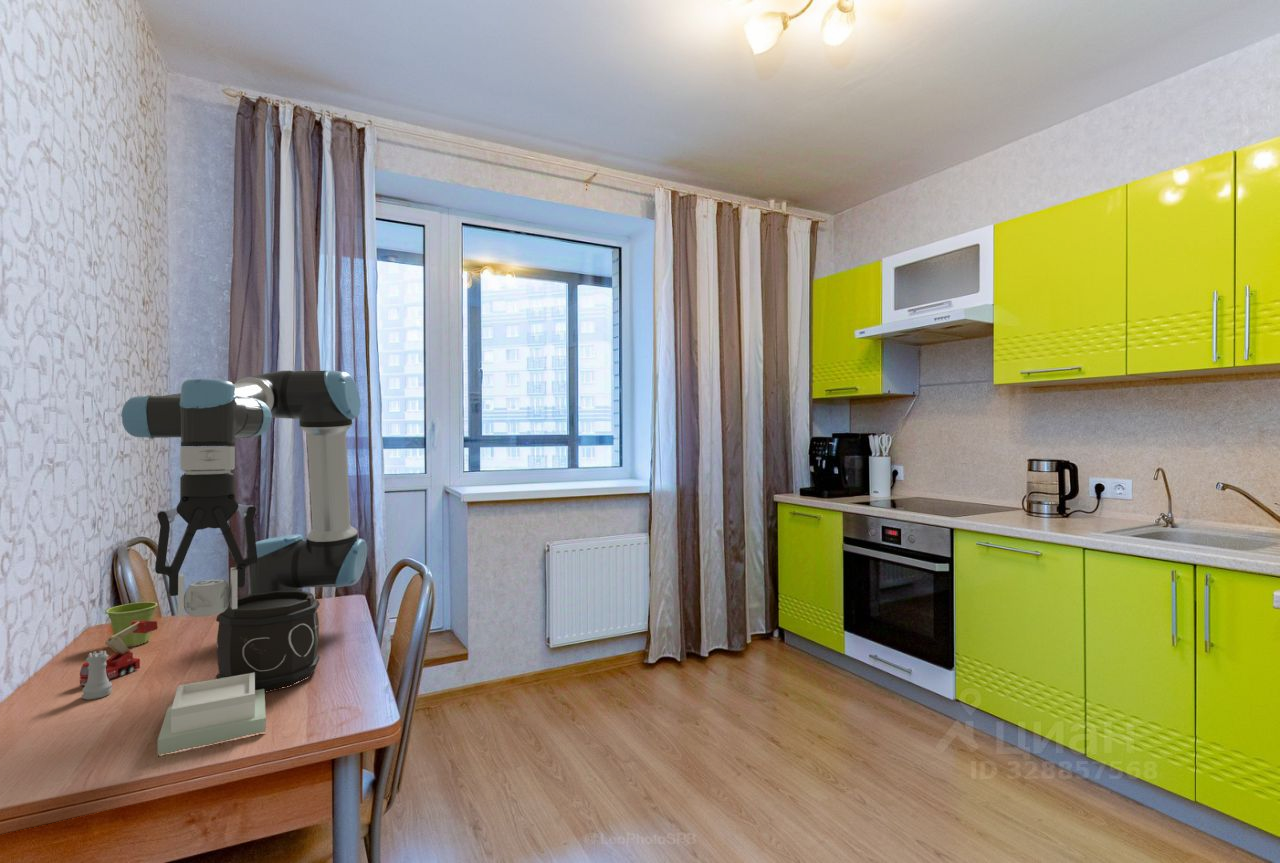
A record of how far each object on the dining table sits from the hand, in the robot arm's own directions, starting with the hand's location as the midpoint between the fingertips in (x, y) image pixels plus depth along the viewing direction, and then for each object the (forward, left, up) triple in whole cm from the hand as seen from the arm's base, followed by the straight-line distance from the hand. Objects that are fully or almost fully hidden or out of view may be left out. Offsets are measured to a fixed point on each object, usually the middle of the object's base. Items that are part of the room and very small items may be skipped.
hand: (207, 610), depth 105 cm
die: (0, 0, -1) cm, 1 cm away
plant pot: (+10, -63, -19) cm, 67 cm away
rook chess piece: (+15, -29, -19) cm, 38 cm away
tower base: (-1, +1, -20) cm, 20 cm away
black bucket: (-12, -18, -19) cm, 29 cm away
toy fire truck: (+12, -40, -20) cm, 46 cm away
